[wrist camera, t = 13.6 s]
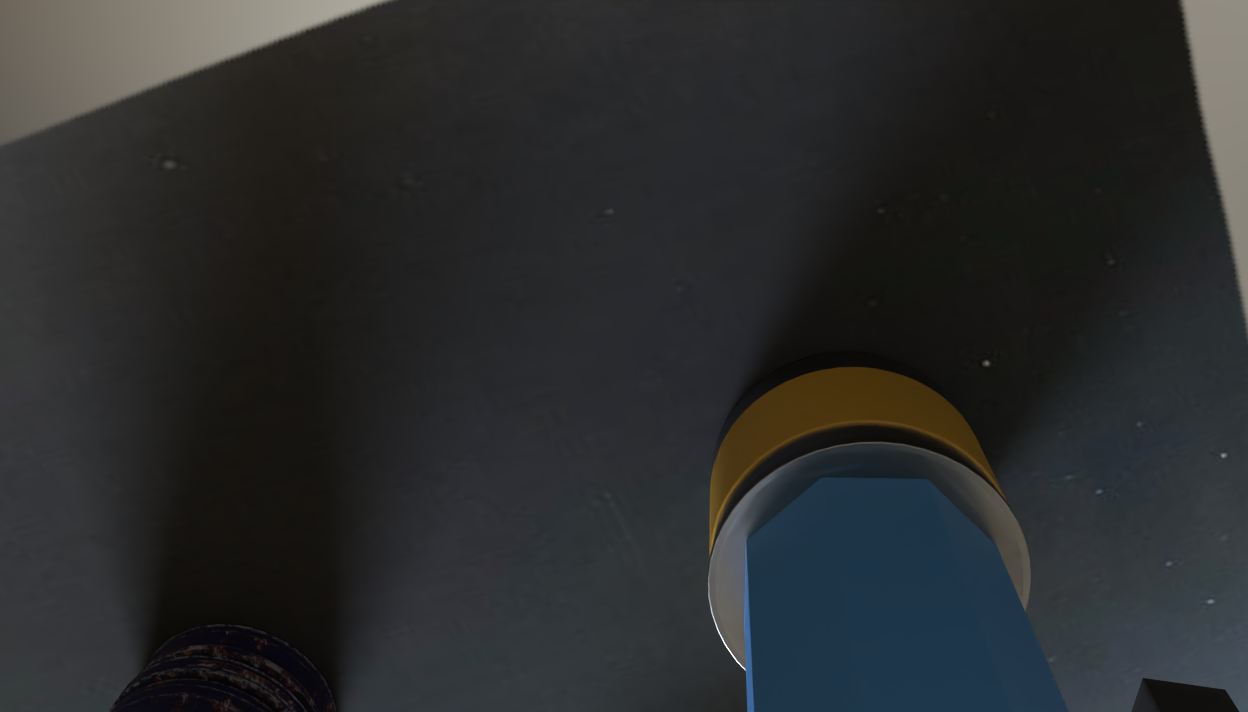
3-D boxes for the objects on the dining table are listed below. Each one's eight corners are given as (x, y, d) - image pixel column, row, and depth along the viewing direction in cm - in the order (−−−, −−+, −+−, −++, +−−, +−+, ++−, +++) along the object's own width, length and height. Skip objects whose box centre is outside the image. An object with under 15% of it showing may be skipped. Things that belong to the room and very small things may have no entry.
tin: (805, 298, 48) (824, 383, 40) (1034, 435, 49) (1099, 545, 41) (659, 507, 52) (648, 625, 43) (875, 629, 53) (905, 766, 45)
